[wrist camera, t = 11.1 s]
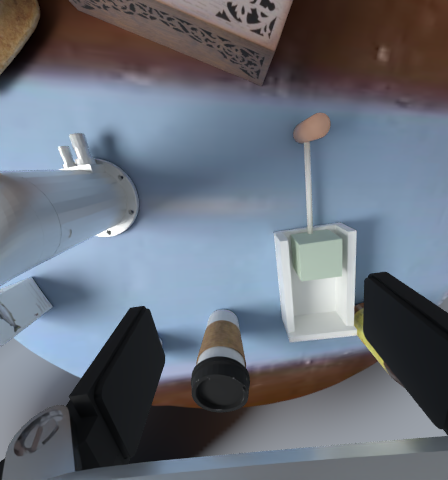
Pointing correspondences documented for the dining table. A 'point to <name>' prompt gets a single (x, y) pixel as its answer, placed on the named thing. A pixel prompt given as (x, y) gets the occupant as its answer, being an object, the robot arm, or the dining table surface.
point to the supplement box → (20, 308)
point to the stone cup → (16, 27)
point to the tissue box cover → (204, 28)
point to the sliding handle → (312, 242)
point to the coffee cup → (221, 366)
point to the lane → (317, 291)
